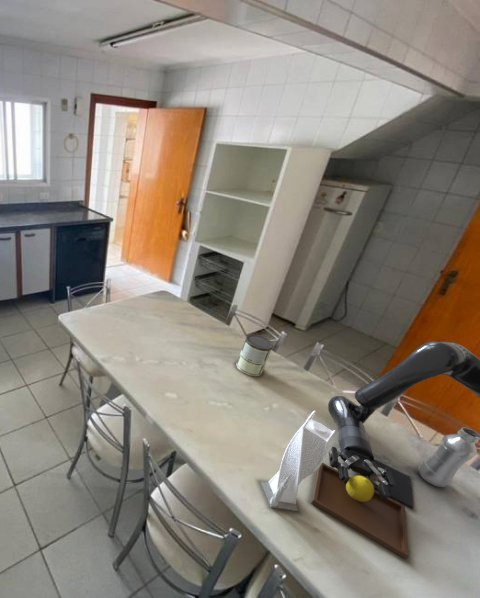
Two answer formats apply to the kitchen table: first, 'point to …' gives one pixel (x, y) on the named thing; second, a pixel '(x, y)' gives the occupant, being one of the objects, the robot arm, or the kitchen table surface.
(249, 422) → the kitchen table surface
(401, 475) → the plate
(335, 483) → the tray
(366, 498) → the lemon
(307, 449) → the skyscraper
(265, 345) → the coffee can
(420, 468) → the silver metal flask
